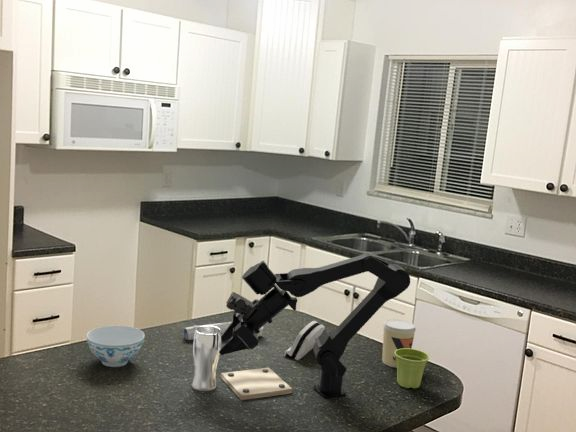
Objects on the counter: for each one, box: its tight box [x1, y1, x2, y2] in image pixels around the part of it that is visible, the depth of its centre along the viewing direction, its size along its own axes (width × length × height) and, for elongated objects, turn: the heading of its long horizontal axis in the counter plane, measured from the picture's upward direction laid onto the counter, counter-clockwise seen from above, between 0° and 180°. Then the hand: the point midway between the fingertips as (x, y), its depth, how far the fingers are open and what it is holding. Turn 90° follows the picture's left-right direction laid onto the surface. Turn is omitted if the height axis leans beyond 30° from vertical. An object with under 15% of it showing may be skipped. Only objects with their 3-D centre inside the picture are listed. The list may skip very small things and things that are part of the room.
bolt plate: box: [220, 367, 293, 401], centre depth 165 cm, size 14×14×2 cm
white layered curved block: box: [283, 320, 326, 361], centre depth 192 cm, size 17×5×10 cm, turn 157°
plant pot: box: [395, 348, 430, 389], centre depth 174 cm, size 9×9×9 cm
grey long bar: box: [182, 321, 264, 342], centre depth 198 cm, size 5×7×25 cm
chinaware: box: [86, 325, 146, 368], centre depth 171 cm, size 15×15×8 cm
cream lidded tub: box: [381, 319, 416, 369], centre depth 189 cm, size 9×9×12 cm
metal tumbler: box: [191, 325, 222, 392], centre depth 161 cm, size 7×7×15 cm
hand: (220, 346), depth 161 cm, fingers open, 9 cm apart
